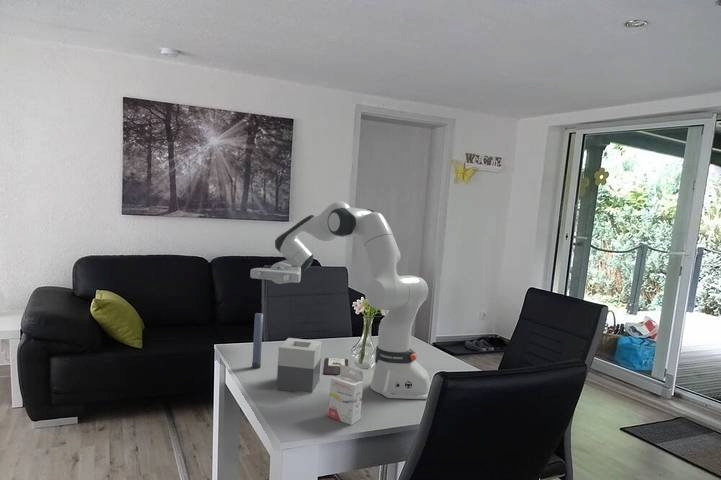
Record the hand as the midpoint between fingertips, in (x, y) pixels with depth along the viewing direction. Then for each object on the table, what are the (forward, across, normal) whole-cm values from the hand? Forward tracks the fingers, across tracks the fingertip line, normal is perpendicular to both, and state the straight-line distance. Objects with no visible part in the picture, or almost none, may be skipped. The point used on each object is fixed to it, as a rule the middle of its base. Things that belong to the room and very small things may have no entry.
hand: (270, 277), depth 190 cm
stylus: (+12, 0, +32) cm, 34 cm away
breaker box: (+24, +19, +32) cm, 44 cm away
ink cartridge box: (+46, +38, +32) cm, 68 cm away
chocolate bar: (+2, +28, +33) cm, 43 cm away
